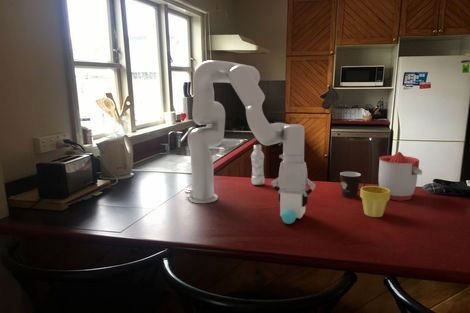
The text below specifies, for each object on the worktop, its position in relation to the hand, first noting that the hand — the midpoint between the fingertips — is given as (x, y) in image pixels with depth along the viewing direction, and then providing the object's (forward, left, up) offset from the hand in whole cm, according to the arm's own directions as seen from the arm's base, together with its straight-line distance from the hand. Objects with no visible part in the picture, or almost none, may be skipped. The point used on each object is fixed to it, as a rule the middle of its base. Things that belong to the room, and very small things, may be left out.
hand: (292, 204), depth 134 cm
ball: (0, -7, -2) cm, 7 cm away
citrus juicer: (+37, +38, -5) cm, 53 cm away
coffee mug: (+18, +32, -5) cm, 37 cm away
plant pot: (+28, +13, -5) cm, 31 cm away
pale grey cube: (0, 0, -4) cm, 4 cm away
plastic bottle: (-27, +38, -5) cm, 47 cm away
